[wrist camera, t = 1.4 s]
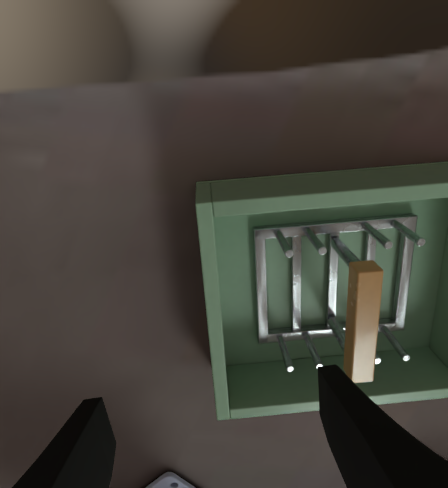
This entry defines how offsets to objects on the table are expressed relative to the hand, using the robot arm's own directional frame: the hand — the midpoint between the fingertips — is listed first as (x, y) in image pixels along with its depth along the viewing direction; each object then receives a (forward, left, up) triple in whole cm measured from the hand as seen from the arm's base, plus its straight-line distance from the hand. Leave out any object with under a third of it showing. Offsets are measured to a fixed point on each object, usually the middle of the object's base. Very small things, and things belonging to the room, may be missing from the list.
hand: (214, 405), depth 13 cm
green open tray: (-5, -5, -10) cm, 12 cm away
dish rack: (-5, -5, -9) cm, 11 cm away
